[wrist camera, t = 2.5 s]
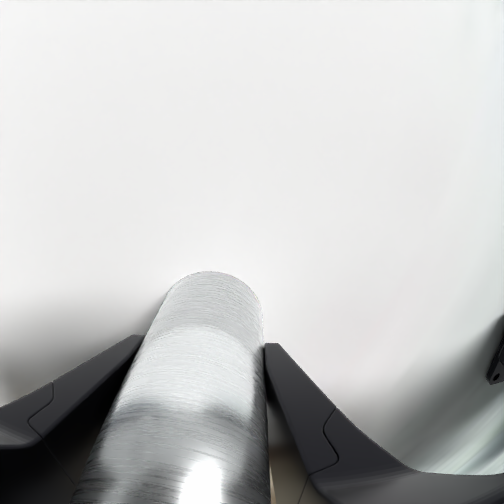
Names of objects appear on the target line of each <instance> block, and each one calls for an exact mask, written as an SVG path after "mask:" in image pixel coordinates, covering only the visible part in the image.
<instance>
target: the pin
mask: <svg viewBox="0 0 504 504" xmlns="http://www.w3.org/2000/svg"><path fill="white" fill-rule="evenodd" d="M69 504H271V488H270V464H269V441H268V419H267V397H266V381H265V362H264V335H263V315H262V309H261V305H260V302H259V300H258V298H257V297H256V295H255V294H254V292H253V291H252V290H251V289H250V288H249V287H248V286H247V285H246V284H245V283H243V282H242V281H240V280H239V279H237V278H235V277H233V276H231V275H228V274H225V273H220V272H212V271H206V272H198V273H194V274H191V275H188V276H186V277H184V278H183V279H181V280H179V281H178V282H177V283H176V284H175V285H174V286H173V287H172V288H171V290H170V291H169V293H168V294H167V296H166V298H165V300H164V302H163V304H162V306H161V307H160V309H159V311H158V313H157V315H156V317H155V319H154V321H153V323H152V325H151V327H150V329H149V331H148V332H147V334H146V336H145V338H144V340H143V342H142V344H141V346H140V348H139V350H138V352H137V354H136V356H135V358H134V360H133V362H132V364H131V366H130V368H129V370H128V372H127V374H126V377H125V379H124V381H123V383H122V385H121V387H120V389H119V391H118V393H117V395H116V397H115V400H114V402H113V404H112V406H111V408H110V410H109V412H108V415H107V417H106V419H105V421H104V423H103V425H102V428H101V430H100V432H99V434H98V437H97V439H96V441H95V443H94V446H93V448H92V450H91V453H90V455H89V457H88V460H87V462H86V464H85V467H84V469H83V471H82V474H81V476H80V479H79V481H78V483H77V486H76V488H75V491H74V493H73V496H72V498H71V501H70V503H69Z"/></svg>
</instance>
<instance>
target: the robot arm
mask: <svg viewBox="0 0 504 504" xmlns="http://www.w3.org/2000/svg"><path fill="white" fill-rule="evenodd" d="M144 338H145V336H143V335H131V336H130V337H128V338H126V339H124V340H123V341H121V342H119V343H118V344H116V345H114V346H112V347H111V348H109V349H107V350H106V351H104V352H102V353H100V354H99V355H97V356H95V357H94V358H92V359H90V360H88V361H87V362H85V363H83V364H82V365H80V366H78V367H76V368H75V369H73V370H71V371H69V372H68V373H66V374H64V375H63V376H61V377H59V378H57V379H56V380H54V381H53V382H50V383H49V384H47V385H45V386H43V387H42V388H40V389H38V390H36V391H34V392H32V393H30V394H28V395H26V396H24V397H22V398H20V399H18V400H16V401H14V402H11V403H9V404H7V405H5V406H2V407H0V504H69V503H70V501H71V498H72V496H73V493H74V491H75V488H76V486H77V483H78V481H79V479H80V476H81V474H82V471H83V469H84V467H85V464H86V462H87V460H88V457H89V455H90V453H91V450H92V448H93V446H94V443H95V441H96V439H97V437H98V434H99V432H100V430H101V428H102V425H103V423H104V421H105V419H106V417H107V415H108V412H109V410H110V408H111V406H112V404H113V402H114V400H115V397H116V395H117V393H118V391H119V389H120V387H121V385H122V383H123V381H124V379H125V377H126V374H127V372H128V370H129V368H130V366H131V364H132V362H133V360H134V358H135V356H136V354H137V352H138V350H139V348H140V346H141V344H142V342H143V340H144ZM264 362H265V381H266V397H267V419H268V441H269V460H270V466H271V473H272V479H273V486H274V492H275V498H276V504H504V473H501V474H495V475H454V474H439V473H427V472H421V471H417V470H414V469H412V468H410V467H408V466H406V465H404V464H403V463H401V462H400V461H399V460H397V459H396V458H395V457H393V456H392V455H391V454H389V453H388V452H387V451H386V450H384V449H383V448H382V447H380V446H379V445H378V444H377V443H375V442H374V441H373V440H371V439H370V438H369V437H368V436H367V435H365V434H364V433H363V432H362V431H361V430H359V429H358V428H357V427H356V426H355V425H354V424H353V423H352V422H351V421H350V420H349V419H348V418H347V417H346V416H345V415H344V414H343V413H342V412H341V411H340V410H339V409H338V408H336V406H335V405H334V404H333V403H332V402H331V400H330V399H329V398H328V397H327V396H326V395H325V394H324V393H323V392H322V391H321V390H320V389H319V388H318V386H317V385H316V384H315V383H314V382H313V381H312V380H311V379H310V378H309V377H308V376H307V374H306V373H305V372H304V371H303V370H302V369H301V368H300V367H299V366H298V365H297V363H296V362H295V361H294V360H293V359H292V358H291V357H290V356H289V355H288V353H287V352H286V351H285V350H284V349H283V348H282V347H281V346H280V345H279V344H278V343H265V344H264ZM486 380H487V381H488V382H489V384H490V385H493V384H496V383H499V382H503V381H504V338H503V340H502V342H501V345H500V347H499V349H498V352H497V354H496V356H495V358H494V360H493V363H492V365H491V367H490V369H489V371H488V373H487V375H486Z"/></svg>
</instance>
